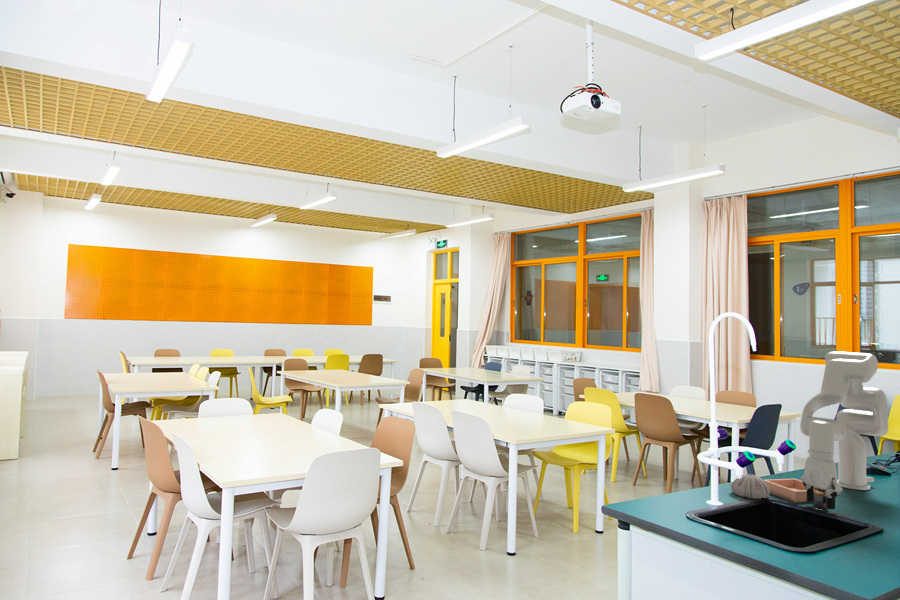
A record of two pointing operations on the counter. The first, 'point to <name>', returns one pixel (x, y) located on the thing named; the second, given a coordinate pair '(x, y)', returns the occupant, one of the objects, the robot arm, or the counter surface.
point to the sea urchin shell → (750, 487)
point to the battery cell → (819, 498)
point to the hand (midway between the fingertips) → (820, 504)
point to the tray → (788, 489)
